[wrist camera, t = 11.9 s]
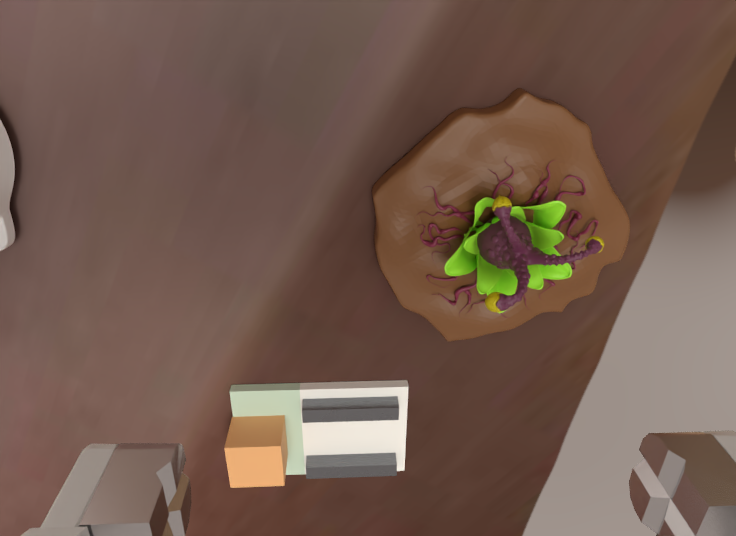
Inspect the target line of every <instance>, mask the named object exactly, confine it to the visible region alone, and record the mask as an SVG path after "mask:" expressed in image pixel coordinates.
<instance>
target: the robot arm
mask: <svg viewBox="0 0 736 536" xmlns="http://www.w3.org/2000/svg"><path fill="white" fill-rule="evenodd" d="M14 177H15V164H14V156H13V151H12V147H11V143H10V140H9V137H8V135H7V132H6V130H5V128H4V126H3V124H2V122H1V120H0V251H1V250H3V249H5V248H7V247H9V246H10V245H12V244H13V242H14V240H15V230H14V224H13V220H12V216H11V213H10V209H9V207H10V198H11V193H12V189H13V185H14ZM639 450H640V452H641V453H642V455H643V457H644V459H643V460H642V461H641V462H639V463H638V464H637V465H636V466H634V467H633V470H632V473H631V477H630V480H629V486H630V497H631V500H632V503H633V506H634V509H635V511H636V513H637V515H638V517H639V518H640V520H641V522H642V523H643V524H645V525H646V526H647V527H649V528H650V529H651V530H653V531H654V532H655V533H657V535H656V536H736V432H734V431H705V432H677V433H675V432H674V433H649V434H648V435H646V437H644V438H643V440H642V443H641V446H640V449H639ZM185 461H186V458H185V453H184V448H183V445H181V444H167V443H121V444H89V445H88V446H87V447H86V448H85V449H84V450H83V451H82V452H81V454H80V456H79V457H78V459H77V461H76V463H75V465H74V467H73V468H72V470H71V472H70V474H69V476H68V478H67V479H66V481H65V483H64V485H63V487H62V489H61V490H60V492H59V494H58V496H57V498H56V500H55V501H54V503H53V505H52V507H51V509H50V511H49V512H48V514H47V516H46V518H45V520H44V522H43V523H42V525H41V527H40V528H30V529H29V530H27V531H26V532H25V533H23V534H22V535H21V536H185V535H186V531H187V527H188V523H189V517H190V509H191V486H190V480H189V478H188V477H187V476H186V475H184V474H183V473H182V471H183V468H184V465H185Z"/></svg>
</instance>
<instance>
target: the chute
mask: <svg viewBox="0 0 736 536" xmlns="http://www.w3.org/2000/svg"><path fill="white" fill-rule="evenodd" d="M230 399H231V406H232V413H233V417H244V416H276V415H285V425H286V437H287V448H288V458H287V467H286V475H293V474H306V479H313V478H342V477H371V476H397V471H404V468H405V448H406V427H407V406H408V382H407V380H392V381H355V382H318V383H280V384H243V385H231V388H230Z"/></svg>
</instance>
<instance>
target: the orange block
mask: <svg viewBox="0 0 736 536" xmlns="http://www.w3.org/2000/svg"><path fill="white" fill-rule="evenodd" d="M225 455H226V461H227V467H228V474H229V480H230V486H231V488H234V487H261V486H284V485H285V476H286V467H287V458H288V448H287V437H286V425H285V415H276V416H244V417H232V419H231V423H230V427H229V432H228V436H227V440H226V444H225Z"/></svg>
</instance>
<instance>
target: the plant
mask: <svg viewBox="0 0 736 536" xmlns="http://www.w3.org/2000/svg"><path fill="white" fill-rule="evenodd" d="M372 195H373V202H374V208H375V215H376V228H375V233H374V243H375V250H376V254H377V258H378V262H379V266H380V268H381V271H382V272H383V274H384V276H385V278H386V279H387V281H388V282H389V284H390V286H391V288H392V290H393V292H394V294H395V295H396V297H397V299H398V301H399V302H400V304H401V305H402V306H403V308H405V309H407V310H410V311H413V312H415V313H418V314H420V315H421V316H423V317H424V318H426V319H427V320H428V321H429V322H430V323H431V324H432V325H433V326H434V327H435V328H436V329H437V330H438V331H439V332H440V333H441V334H442V335H443V337H444V338H445V339H446V340H447V341H449V342H450V341H455V340H463V339H471V338H475V337H479V336H482V335H486V334H490V333H494V332H502V331H507V330H510V329H513V328H515V327H517V326H520V325H521V324H523V323H525V322H527V321H528V320H530V319H532V318H533V317H535V316H536V315H538V314H540V313H543V312H562V311H563V310H564V308H565V306H566V305H567V304H568V303H569V302H570V301H572V300H574V299H576V298H579V297H583V296H587V295H589V294H591V293H592V292H593V291H594V289H595V286H596V283H597V279H598V275H599V273H600V271H601V269H602V268H603V267H604V266H605V265H607V264H610V263H614V262H618V261H620V260H621V258H622V256H623V254H624V251H625V249H626V246H627V243H628V239H629V234H630V222H629V217H628V215H627V213H626V210H625V208H624V206H623V205H622V203H621V201H620V200H619V198H618V197H617V195H616V194H615V193H614V191H613V190H612V188H611V186H610V184H609V182H608V180H607V177H606V175H605V172H604V170H603V168H602V166H601V164H600V162H599V160H598V157H597V155H596V153H595V150H594V148H593V144H592V136H591V131H590V128H589V126H588V125H587V124H586V123H585V122H583V121H581V120H580V119H578V118H576V117H575V116H574V115H573V114H572V113H571V112H570V111H568V110H567V109H566V108H564V107H563V106H561V105H560V104H558V103H556V102H554V101H551V100H547V99H542V98H538V97H535V96H533V95H531V94H530V93H528V92H527V91H525V90H523V89H521V88H518V89H516V90H515V91H513V92H512V93H511V94H510V95H509V96H508V97H507V98H506V99H505V100H504V101H503V102H501V103H499V104H497V105H495V106H492V107H489V108H484V109H472V108H460V109H458V110H456V111H454V112H453V113H451V114H450V115H449V116H447V117H446V118H445V119H444V120H443V121H442V122H441V123H440V124H439V125H438V126H437V127H436V128H435V129H433V130H432V131H431V132H430V133H429V134H428V135H427V136H426V137H424V138H423V139H422V140H421V141H420V142H419V143H418V144H417V145H416V146H415V147H414V148H413V149H412V150H411V151H410V152H409V153H408V154H406V155H405V156H404V157H403V158H402V159H401V160H400V161H398V162H397V163H396V164H395V165H393V166H392V167H391V168H390V169H389V170H388V171H387V172H386V173H385V174H384V175H383V176H382V177H381V178H380V179H379V180H378V181H377V182H376V183H375V184H374V186H373V188H372Z"/></svg>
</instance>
